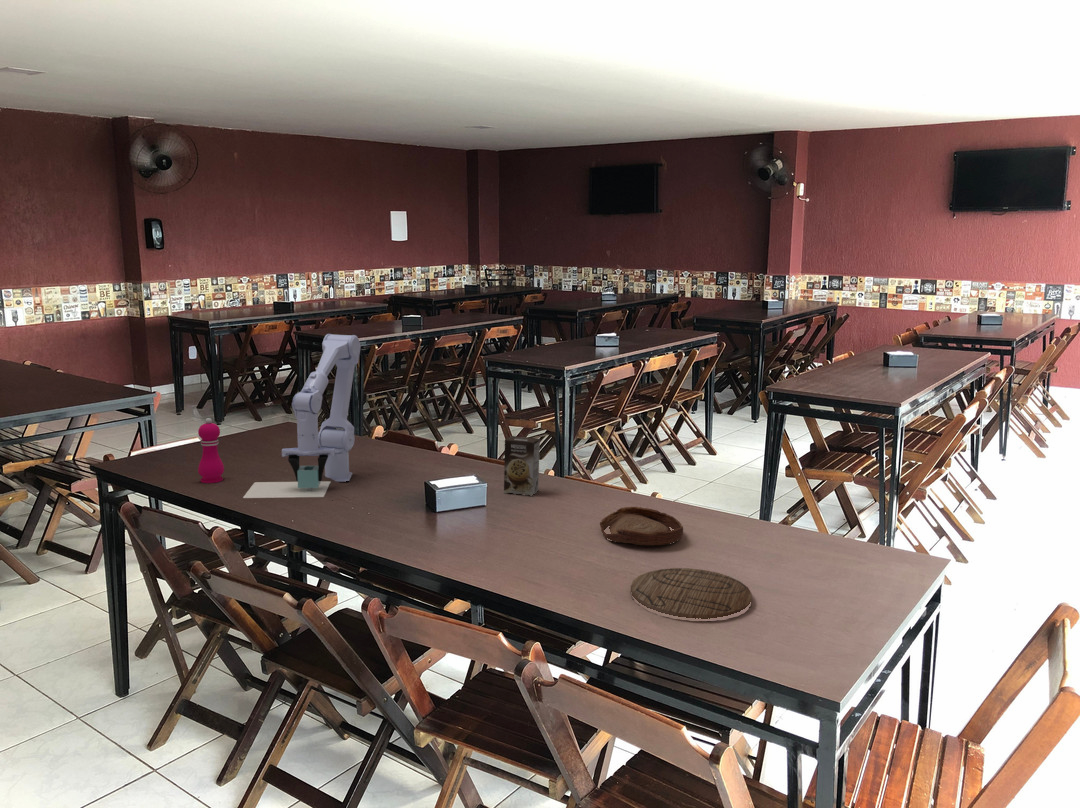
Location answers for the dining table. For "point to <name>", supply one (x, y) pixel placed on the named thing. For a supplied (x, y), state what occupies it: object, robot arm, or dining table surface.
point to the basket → (641, 526)
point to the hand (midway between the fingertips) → (309, 480)
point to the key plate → (285, 490)
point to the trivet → (691, 593)
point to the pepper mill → (210, 453)
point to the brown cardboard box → (521, 465)
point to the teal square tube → (308, 477)
